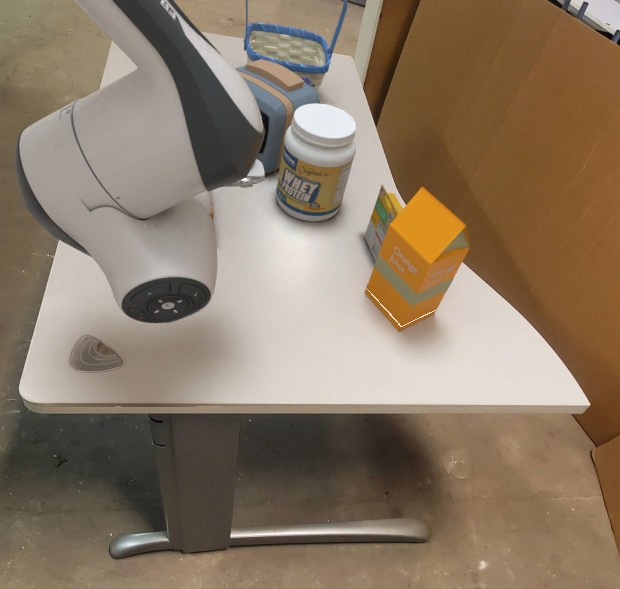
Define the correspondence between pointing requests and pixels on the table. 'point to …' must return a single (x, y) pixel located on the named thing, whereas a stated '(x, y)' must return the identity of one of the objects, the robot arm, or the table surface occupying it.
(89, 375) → the table surface
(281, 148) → the alarm clock
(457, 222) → the orange juice
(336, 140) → the supplement tub
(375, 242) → the crayon box
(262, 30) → the basket
